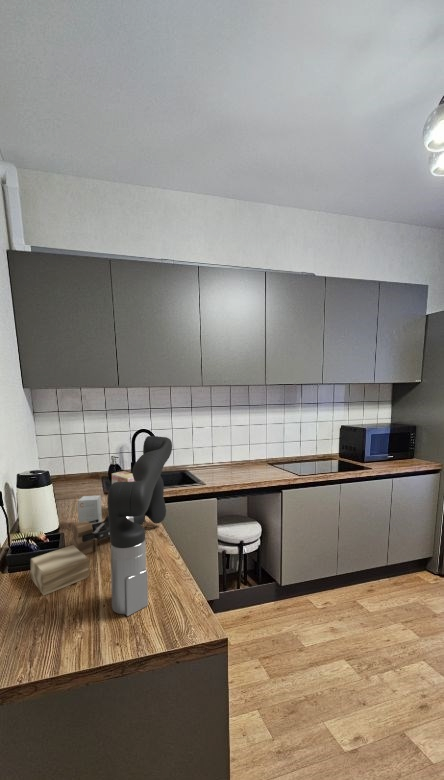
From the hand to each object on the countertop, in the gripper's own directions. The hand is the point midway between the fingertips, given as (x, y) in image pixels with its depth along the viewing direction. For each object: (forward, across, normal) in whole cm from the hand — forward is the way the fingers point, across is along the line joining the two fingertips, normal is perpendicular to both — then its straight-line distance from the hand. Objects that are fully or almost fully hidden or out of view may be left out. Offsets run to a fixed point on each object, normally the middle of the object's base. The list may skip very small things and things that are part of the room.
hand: (77, 535), depth 119 cm
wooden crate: (+10, +12, +6) cm, 17 cm away
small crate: (-2, 0, +6) cm, 7 cm away
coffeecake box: (-31, -22, +7) cm, 38 cm away
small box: (-13, -20, +7) cm, 25 cm away
